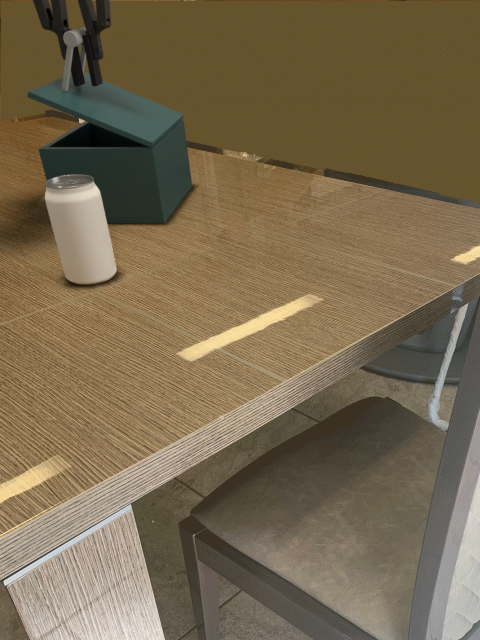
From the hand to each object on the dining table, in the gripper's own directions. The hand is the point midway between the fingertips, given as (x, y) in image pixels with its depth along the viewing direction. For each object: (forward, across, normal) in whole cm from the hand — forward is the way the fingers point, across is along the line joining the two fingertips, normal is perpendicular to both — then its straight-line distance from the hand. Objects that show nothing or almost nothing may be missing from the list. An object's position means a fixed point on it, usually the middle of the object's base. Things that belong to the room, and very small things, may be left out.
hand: (88, 84), depth 97 cm
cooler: (+18, -3, 0) cm, 18 cm away
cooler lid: (+3, -3, 0) cm, 5 cm away
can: (+18, -7, +30) cm, 36 cm away
